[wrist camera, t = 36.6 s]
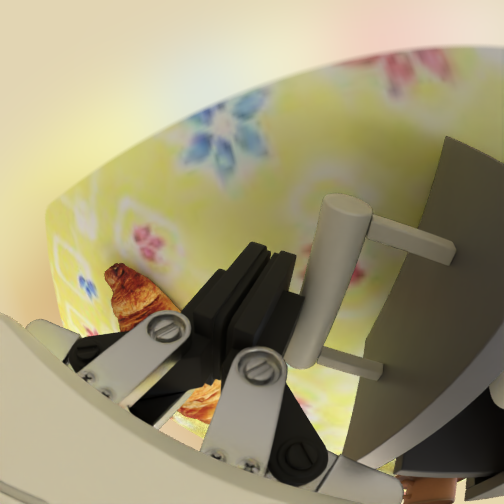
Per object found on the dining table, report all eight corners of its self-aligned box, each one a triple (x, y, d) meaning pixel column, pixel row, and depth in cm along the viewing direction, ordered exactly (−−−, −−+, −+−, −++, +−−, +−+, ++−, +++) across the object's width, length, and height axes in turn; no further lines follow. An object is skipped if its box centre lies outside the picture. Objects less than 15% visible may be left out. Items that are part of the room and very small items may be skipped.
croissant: (261, 390, 31) (268, 445, 23) (186, 408, 31) (181, 460, 24) (172, 227, 23) (146, 268, 15) (84, 269, 23) (42, 314, 16)
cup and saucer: (384, 478, 28) (375, 512, 23) (411, 453, 22) (403, 498, 17) (450, 478, 23) (445, 510, 18) (489, 449, 18) (487, 490, 13)
